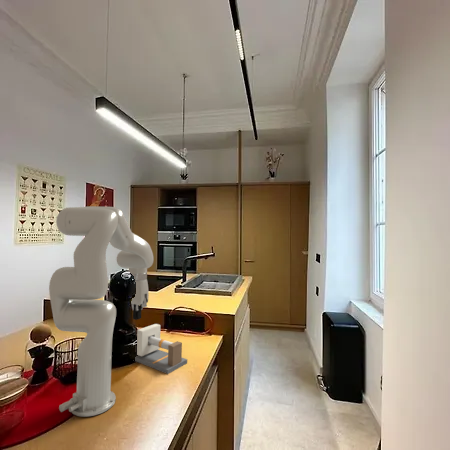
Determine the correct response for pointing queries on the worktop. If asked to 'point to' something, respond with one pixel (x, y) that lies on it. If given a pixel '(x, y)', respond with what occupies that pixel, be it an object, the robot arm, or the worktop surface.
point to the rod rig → (163, 356)
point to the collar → (142, 339)
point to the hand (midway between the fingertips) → (137, 318)
